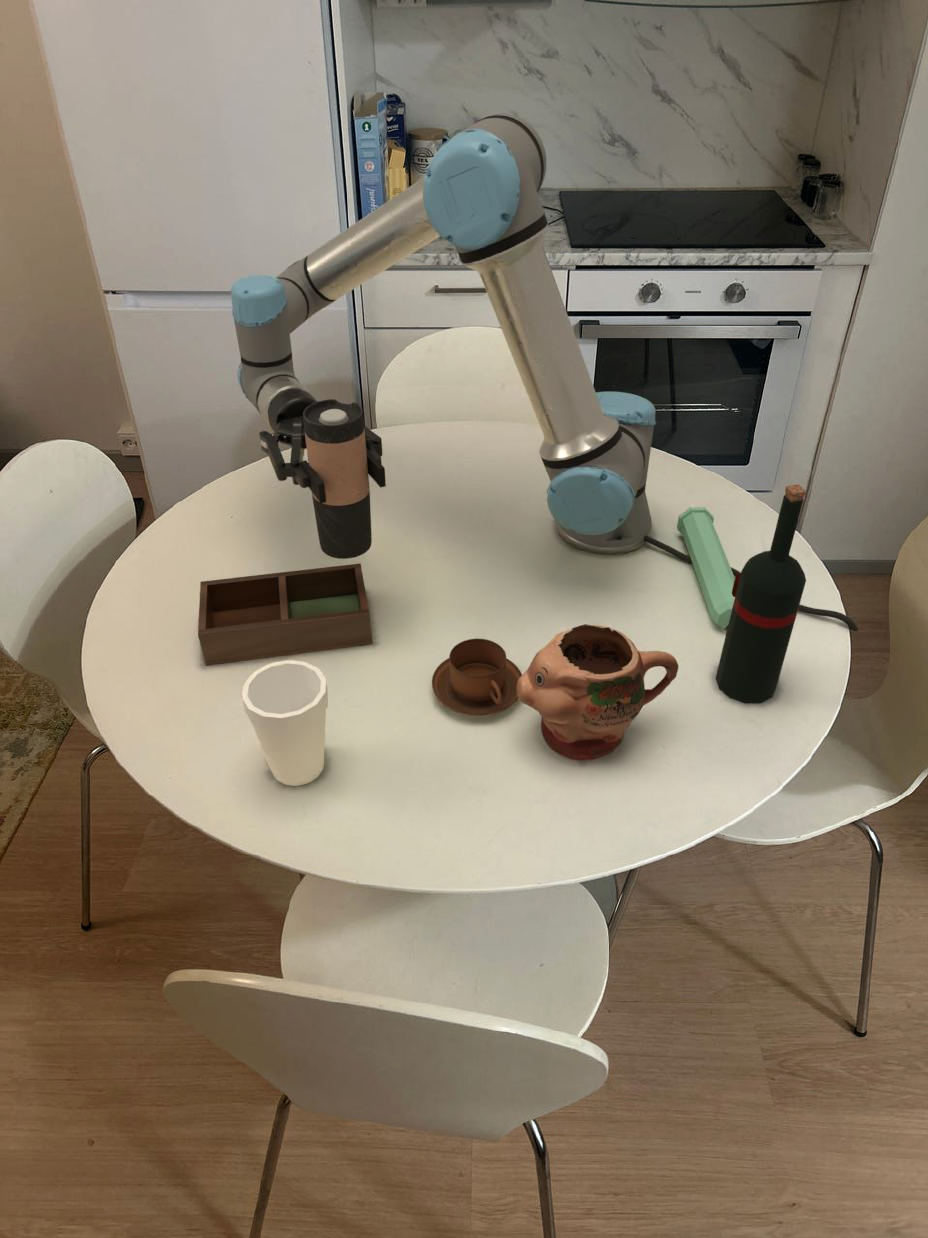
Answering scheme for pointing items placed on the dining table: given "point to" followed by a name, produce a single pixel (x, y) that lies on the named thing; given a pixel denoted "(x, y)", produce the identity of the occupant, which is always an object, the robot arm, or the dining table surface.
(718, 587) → the container
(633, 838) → the dining table surface
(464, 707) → the cup and saucer
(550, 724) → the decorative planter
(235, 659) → the divided box
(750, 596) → the wine bottle
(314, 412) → the travel mug
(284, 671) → the foam cup
